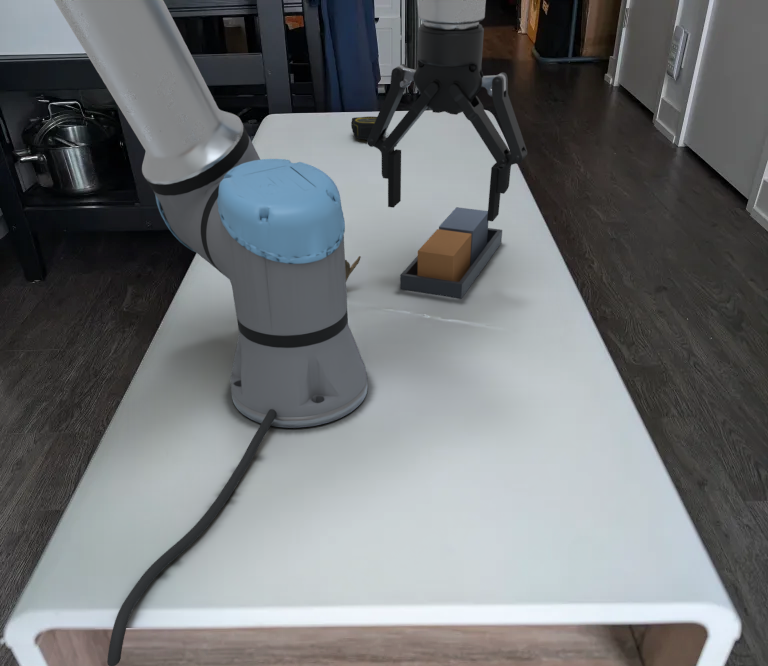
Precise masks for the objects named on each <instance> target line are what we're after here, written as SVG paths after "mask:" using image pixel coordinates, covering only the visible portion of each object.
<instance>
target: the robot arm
mask: <svg viewBox="0 0 768 666" xmlns="http://www.w3.org/2000/svg"><path fill="white" fill-rule="evenodd" d="M53 1H54V3H55V4H56V6H57V8H58V9H59V11H60V13H61V14H62V16H63V18H64V19H65V21H66V22H67V24H68V26H69V27H70V28H71V31H72V32H73V34H74V36H75V37H76V39H77V40H78V43H79V44H80V46H81V47H82V49H83V50H84V52H85V54H86V55H87V57H88V58H89V60H90V62H91V64H92V65H93V67H94V68H95V70H96V72H97V73H98V76H99V77H100V79H101V80H102V82H103V83H104V85H105V86H106V89H107V90H108V91H109V93H110V95H111V96H112V98H113V100H114V101H115V103H116V105H117V106H118V108H119V109H120V111H121V113H122V115H123V116H124V118H125V119H126V121H127V122H128V125H129V126H130V128H131V129H132V131H133V133H134V134H135V136H136V138H137V139H138V141H139V142H140V144H141V146H142V147H143V149H144V150H145V153H144V157H143V161H142V165H141V173H142V175H143V177H144V179H145V180H146V182H147V184H148V185H149V187H150V188H151V190H152V191H153V193H154V195H155V202H156V205H157V209H158V212H159V214H160V216H161V218H162V220H163V222H164V224H165V225H166V227H167V229H168V230H169V231H170V232H171V234H172V235H173V237H175V238H176V240H178V242H179V243H181V244H182V245H183V246H184V247H185V248H187V249H189V250H191V252H194V253H196V254H197V255H199V256H200V257H201V258H202V259H204V261H206V262H207V263H208V264H209V265H211V266H212V267H214V268H215V269H216V270H217V271H218V272H219V273H220V274H222V276H224V277H225V278H227V279H228V280H229V281H230V284H231V290H232V298H233V303H234V309H235V316H236V321H237V327H238V328H237V329H238V337H237V343H236V347H235V353H234V357H233V362H232V367H231V373H230V385H229V386H230V392H231V393H230V394H231V399H232V403H233V405H234V407H235V408H236V409H237V411H238V412H240V413H241V414H242V415H243V416H244V417H246V418H248V419H249V420H251V421H254V422H256V423H259V424H260V425H259V427H258V428H257V430H256V432H255V434H254V435H253V437H252V439H251V441H250V442H249V445H248V446H247V448H246V450H245V452H244V454H243V455H242V457H241V458H240V460H239V462H238V464H237V466H236V467H235V469H234V471H233V472H232V474H231V475H230V477H229V479H228V480H227V482H226V483H225V485H224V487H223V488H222V490H221V491H220V493H219V494H218V496H217V497H216V498H215V500H214V501H213V503H212V504H211V506H210V507H209V508H208V509H207V511H206V512H205V513H204V514H203V515H202V517H201V518H200V519H199V520H198V522H196V523H195V525H194V526H193V527H191V529H190V530H189V531H188V532H187V533H186V534H185V535H184V536H183V537H181V538H180V539H179V540H178V541H176V543H175V544H173V545H172V546H171V547H170V548H168V550H167V551H165V552H164V553H163V554H162V555H161V556H160V557H158V558H157V559H156V560H155V561H154V562H153V563H152V564H151V565H150V566H149V567H148V569H146V570H145V571H144V573H143V574H142V575H141V577H140V578H139V579H138V581H137V582H136V584H135V585H134V586H133V588H132V589H131V590H130V592H129V594H128V595H127V597H126V598H125V600H124V601H123V602H122V604H121V606H120V608H119V610H118V613H117V615H116V617H115V620H114V624H113V627H112V631H111V634H110V635H111V636H110V641H109V646H108V652H107V661H106V662H107V666H117V665H118V664H119V663H120V662H121V659H122V658H121V657H122V652H123V645H124V641H125V634H126V630H127V627H128V623H129V620H130V617H131V615H132V613H133V610H134V609H135V607H136V605H137V604H138V602H139V601H140V599H141V597H143V595H144V594H145V591H146V590H147V589H148V587H149V586H150V585H151V583H152V582H153V581H154V580H155V579H156V578H157V576H159V574H160V573H161V572H162V571H163V570H165V568H166V567H167V566H169V564H170V563H172V562H173V561H174V560H175V559H176V558H177V557H178V556H179V555H181V554H182V553H184V552H185V551H186V550H187V549H188V548H189V547H190V546H191V545H192V544H193V543H194V542H195V541H196V540H197V539H198V538H199V537H200V536H201V535H202V534H203V533H204V531H205V530H206V529H207V528H208V527H209V526H210V525H211V523H212V522H213V521H214V519H215V518H216V517H217V515H218V514H219V513H220V512H221V510H222V509H223V507H224V506H225V504H226V503H227V502H228V500H229V498H230V497H231V495H232V494H233V493H234V491H235V489H236V488H237V486H238V484H239V483H240V481H241V479H242V478H243V476H244V474H245V473H246V471H247V469H248V468H249V466H250V464H251V462H252V461H253V459H254V457H255V455H256V453H257V451H258V450H259V448H260V445H262V442H263V440H264V438H265V437H266V435H267V433H268V431H269V430H270V428H271V427H276V428H287V429H288V428H289V429H292V428H293V429H296V428H309V427H316V426H321V425H324V424H328V423H331V422H334V421H336V420H339V419H341V418H343V417H345V416H347V415H349V414H351V413H352V412H353V411H355V410H356V409H357V408H358V407H359V406H360V405H361V404H362V403H363V402H364V400H365V399H366V396H367V393H368V386H369V385H368V384H369V383H368V373H367V369H366V368H367V367H366V364H365V362H364V359H363V357H362V355H361V352H360V350H359V348H358V345H357V342H356V340H355V338H354V335H353V333H352V332H353V331H352V330H351V328H350V325H349V316H348V295H347V281H346V271H345V260H346V254H345V253H346V251H345V232H346V224H345V217H344V211H343V208H342V207H343V206H342V200H341V199H342V198H341V195H340V191H339V188H338V186H337V185H336V183H335V181H334V180H333V179H332V178H331V176H330V175H328V174H327V173H326V172H325V171H323V170H321V169H320V168H318V167H316V166H315V165H312V164H308V163H305V162H302V161H298V162H292V161H291V160H290V159H286V158H262V159H261V158H260V156H259V154H258V152H257V150H256V147H255V146H254V143H253V141H252V140H251V138H250V136H249V134H248V132H247V129H246V128H245V125H244V124H243V122H242V120H241V118H240V117H239V116H238V115H236V114H234V113H232V112H228V111H224V110H222V109H220V108H219V106H218V105H217V102H216V101H215V98H214V97H213V95H212V93H211V91H210V89H209V87H208V86H207V85H208V84H207V83H206V81H205V79H204V77H203V75H202V73H201V71H200V69H199V67H198V65H197V64H196V62H195V60H194V58H193V55H192V54H191V52H190V50H189V48H188V46H187V44H186V42H185V39H184V38H183V36H182V34H181V32H180V30H179V28H178V26H177V24H176V22H175V20H174V19H173V16H172V14H171V13H170V10H169V9H168V6H167V5H166V3H165V1H164V0H53ZM486 4H487V0H418V14H417V15H418V18H419V20H420V21H421V22H423V23H421V24H420V25H419V27H418V28H417V33H418V34H417V67H416V69H413V68H409V67H408V66H407V65H406V64H405V63H402V64H400V65H398V66H396V67H394V68H393V69H391V73H390V74H391V75H390V83H389V84H390V85H389V89H388V91H387V94H386V96H385V98H384V101H383V102H382V105H381V107H380V110H379V112H378V114H377V116H376V117H377V119H376V121H375V123H374V125H373V128H372V130H371V132H370V135H369V137H368V139H367V140H366V144H367V145H368V147H371V148H372V147H374V148H376V149H377V150H378V151H379V152H380V153H381V176H382V179H386V180H387V208H395V207H396V206H397V205H398V204H399V203H400V202H401V201H402V196H401V195H402V149H397V148H396V147H397V145H398V144H399V143H400V142H401V140H402V139H403V138H404V137H405V136H406V134H408V132H409V131H410V130H411V128H412V127H413V126H414V125H415V124H416V122H417V121H418V120H419V119H420V117H421V116H422V115H423V113H424V112H425V111H426V110H427V109H429V110H430V111H432V113H435V114H436V113H437V114H440V113H447V114H449V115H459V114H461V113H462V114H463V115H464V117H465V118H466V120H468V121H470V123H471V124H472V126H473V128H474V129H475V131H476V133H477V134H478V136H479V137H480V139H481V140H482V142H483V143H484V145H485V146H486V148H487V150H488V152H489V153H490V155H491V156H492V157H493V159H494V161H495V163H494V164H493V165H492V166H491V168H490V181H489V191H488V204H487V211H488V216H487V221H488V222H494V221H495V220H496V218H497V217H498V216H499V213H500V203H501V202H500V201H501V194H505V193H506V192H507V191H508V189H509V187H510V179H511V168H512V166H513V165H519V164H521V163H522V162H523V161H524V160H525V159H526V158H527V156H528V149H527V146H526V144H525V140H524V137H523V135H522V132H521V129H520V126H519V123H518V120H517V117H516V114H515V111H514V107H513V104H512V102H511V99H510V96H509V84H508V83H509V79H508V78H509V77H508V75H507V73H506V72H503V71H502V72H500V73H499V74H496V75H495V74H493V75H484V73H483V70H482V63H483V49H484V36H485V35H484V33H485V28H484V27H483V25H482V24H481V23H480V22H482V21H483V20H484V19H485V17H486ZM412 82H413V83H414V85H415V87H416V88H417V91H418V92H419V94H420V96H418V98H417V99H416V101H414V103H413V104H412V106H411V107H410V109H408V111H407V112H406V114H405V115H404V116H403V117H402V118H401V120H400V121H399V122H398V124H396V126H395V128H394V129H393V130H392V131H391V132H390V134H389V135H388V136H387V137H386V134H387V130H388V128H389V126H390V123H391V121H392V119H393V117H394V115H395V113H396V110H397V108H398V106H399V104H400V102H401V99H402V97H403V95H404V93H405V91H406V88H408V87H409V86H411V84H412ZM483 88H485V90H486V92H487V95H488V96H490V97H491V98H492V103H493V106H494V109H495V113H496V115H497V119H498V121H499V124H500V127H501V130H502V133H503V135H504V138H505V141H506V142H505V141H504V140H503V138H502V136H501V135H500V133H499V131H498V130H497V128H496V127H495V125H494V124H493V122H492V121H491V119H490V117H489V116H488V114H487V113H486V110H485V109H484V105H483V104H482V102H481V100H480V98H479V97H478V94H479V93H480V92H481V90H482V89H483ZM385 133H386V134H385ZM384 135H385V136H384ZM395 148H396V149H395Z"/></svg>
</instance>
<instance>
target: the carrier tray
mask: <svg viewBox="0 0 768 666" xmlns="http://www.w3.org/2000/svg"><path fill="white" fill-rule="evenodd" d="M502 237H503V229H500V228H491V227H488V235H487V245H486V246H485V248H484V249H483V250H482V252H481V253H480V254H479V256H478V257H477V258H476V260H475V261H474V262H473V264H472V265H470V268H469V270H468V271H467V272H466V274H465V275H464V276H463V278H462V279H461V280H460V282H455V281H449V280H442V279H436V278H429V277H423V276H417V273H418V255H416V256H415V258H414V259H413V260H412V261H411V262H410V263H409V264H408V266H407V267H406V268H405V269H403V271H402V273H400V274H399V281H400V282H399V288H400V289H399V290H403V291H408V292H416V293H420V294H421V293H422V294H428V295H432V296H433V295H434V296H440V297H446V298H453V299H454V298H455V299H459V300H462V299H463V297H464V296H465V295H466V293H467V292H468V290H469V289H470V288H471V286H472V285H473V284H474V282H475V281H476V280H477V278H478V276H479V275H480V274H481V273H482V271H483V270H484V268H485V267H486V265H488V263H489V261H490V259H492V257H493V255H494V254H495V253H496V251H497V250H498V249H499V247H500V246H501V245H502V240H503V238H502Z"/></svg>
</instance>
